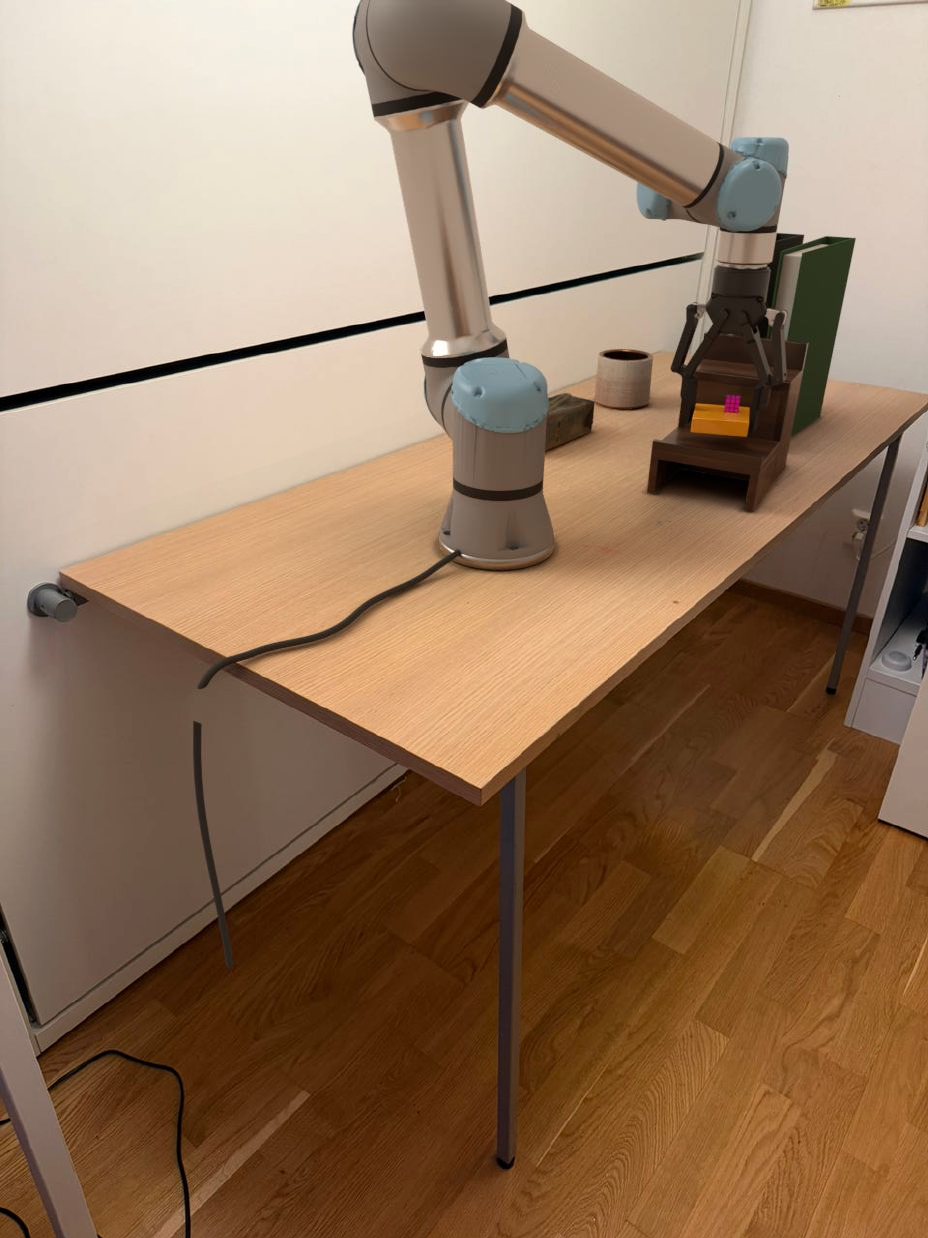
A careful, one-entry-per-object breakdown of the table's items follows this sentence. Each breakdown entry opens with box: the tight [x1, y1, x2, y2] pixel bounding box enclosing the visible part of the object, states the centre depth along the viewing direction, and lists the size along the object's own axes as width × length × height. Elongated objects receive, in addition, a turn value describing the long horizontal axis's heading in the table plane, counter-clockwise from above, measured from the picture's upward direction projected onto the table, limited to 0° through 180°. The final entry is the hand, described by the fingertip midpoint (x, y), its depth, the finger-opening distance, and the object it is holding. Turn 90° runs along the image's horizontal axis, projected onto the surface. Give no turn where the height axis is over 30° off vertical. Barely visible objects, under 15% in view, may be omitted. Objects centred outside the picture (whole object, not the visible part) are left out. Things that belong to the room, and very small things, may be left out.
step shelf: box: [646, 331, 808, 513], centre depth 137 cm, size 23×16×20 cm
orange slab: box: [691, 395, 750, 437], centre depth 132 cm, size 8×8×4 cm
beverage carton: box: [545, 392, 596, 451], centre depth 157 cm, size 8×19×7 cm, turn 140°
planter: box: [594, 348, 654, 410], centre depth 178 cm, size 11×11×10 cm
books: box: [731, 232, 856, 438], centre depth 159 cm, size 27×15×32 cm, turn 145°
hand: (719, 425), depth 133 cm, fingers closed on orange slab, 9 cm apart
